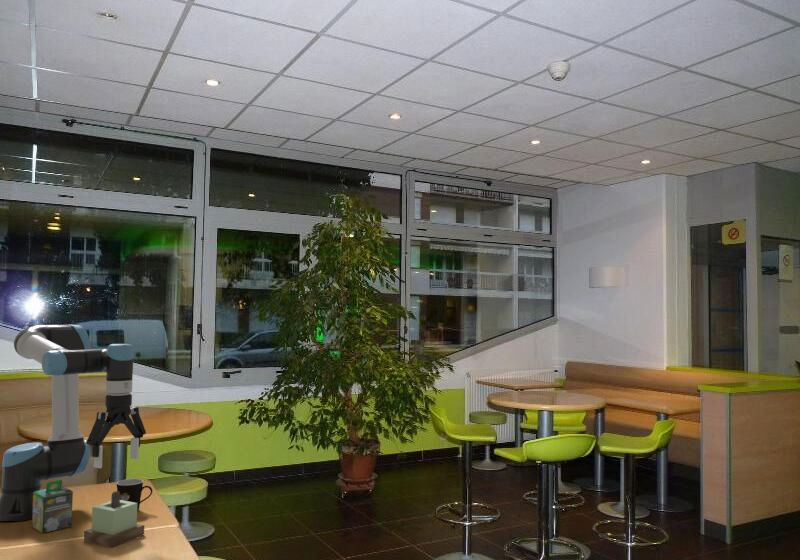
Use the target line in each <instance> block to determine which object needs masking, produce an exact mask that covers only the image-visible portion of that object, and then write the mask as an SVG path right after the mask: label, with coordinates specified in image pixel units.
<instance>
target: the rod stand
mask: <svg viewBox="0 0 800 560" xmlns="http://www.w3.org/2000/svg"><path fill="white" fill-rule="evenodd" d="M110 500H111V508H117V507H120V493H119V492H118V491H117V490H114V491H113V492H111V498H110ZM143 534H144V535H145V525H144V524H139V523H137V526H135V527H133V528H130V529H127V530H124V531H122V532H119V533H116V534H114V535H111V534H106V533H102V532H97V531H93V530H92V527H91V528H89V529H85V530H84V531H83V542H86V543H90V544H95V545H99V546H104V547H107V548H115V547H117V546H120V545H122V544H125V543H127V542H130V541H132V540H135V539H138V538H140V537H139V536H141V535H143ZM144 535H143V536H144ZM137 537H138V538H137ZM141 537H142V536H141Z"/></svg>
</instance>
